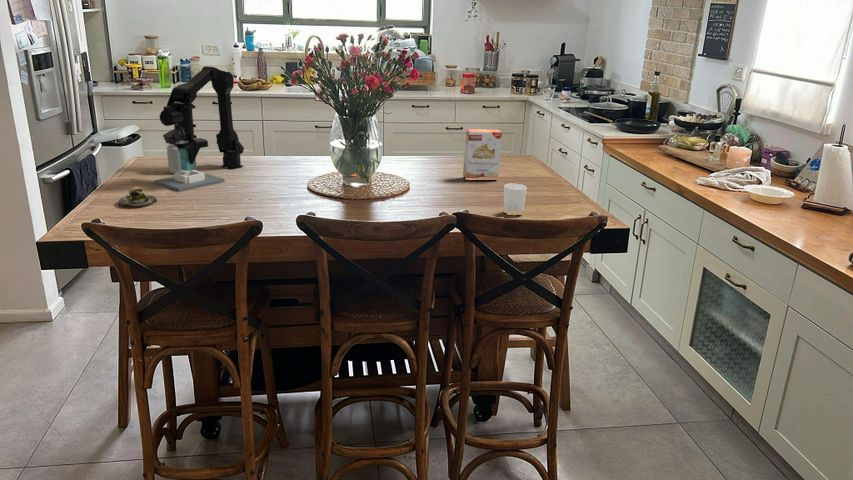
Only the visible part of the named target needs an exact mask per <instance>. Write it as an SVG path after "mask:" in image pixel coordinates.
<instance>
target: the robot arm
mask: <svg viewBox="0 0 853 480" xmlns="http://www.w3.org/2000/svg"><path fill="white" fill-rule="evenodd" d="M234 81H235V80H234V75H233V74H232V73H231V72H230V71H225V70H222V69H219V68H217V67H214V66H203V67H202V68H201V70H200V71H198V72H197V73H196V74H195V75H194V76H193V77H192V78H190V79H189V80H188V81H187V82H185V83H182V84H179V85H176V86H174V87H173V88H172V89H171V92H170V95H169V97H168V101H167V104H166V106H163V110H161V112H160V113H159V120H160V123H161V124H162V125H164V126H166V127H170V126H174V127H173V129H172V130H169V131H168V132H167V131H166V133H164V134H163V135H162V137H163V140H164V141H165V143H166V144H171V145H174V146H175V147H177V148H178V150H179V149H180V148H186V149H187V150H188V154H189V160H190V164H193V163H194V161H195V158H196V159H197V155H198V154H199V152H200V149H203V148H207V147H209V141H208V139H206V138H201V137H197V134H195V129H194V128H197V124H195V123H194V115H193V109H196V105H194V104H193V103H194V101H195V100H196V99H197V97H198V92H199V91H200V90H201V89H203V88H204V87H205V86H206V85H207V84H208V83H209V82H210V83H211V87H212V88H213V90H214V91H215V94H216V95H217V105H218V114H219V115H218V116H219V127H220V130H219V132H218V133H216V135H215V137H216V144H217V147H218V151H219V153H222V154H223V155H222V165H221V168H225V169H228V170H233V169H237V168H243V167H244V165H242V164H241V155H242V154H243V153H244V150H245V147H244V146H243V144H242V143H241V142H240V141H239V136H238V134H237V132H236V130H235V129H234V125H233V124H234V123H233V121H234V120H233V113H232V111H233V110H232V99H231V92H232V90H233V89H234ZM179 152H180V150H179Z"/></svg>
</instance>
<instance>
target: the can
mask: <svg viewBox="0 0 853 480" xmlns="http://www.w3.org/2000/svg"><path fill="white" fill-rule="evenodd" d="M166 153H167V154H166V155H167V166H168V172H169V173H171V174H173V175H174V173H176V172H182V171H185V170H182V169H181V162H180V152H179V150H178V148H177V147H175V146H174V145H171V144H169V143H167V146H166Z"/></svg>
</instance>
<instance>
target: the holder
mask: <svg viewBox="0 0 853 480" xmlns="http://www.w3.org/2000/svg"><path fill="white" fill-rule="evenodd" d="M225 180H226V179H225V178H223V177H221V176H216V175H212V174H209V173H206V172H202V171H198V170H191V171H182V172H176V173H174V174H173V176H170V177H164V178H160V179H159V178H158V179H154V180H153V184H155V185H158V186H161V187H164V188H166V189H170V190H173V191H176V192H179V193H180V192H183V191H184V192H185V191H188V190H193V189H194V190H195V189H199V188H202V187H207V186H212V185H216V184H221V183H222V184H223V183H225V182H226V181H225Z"/></svg>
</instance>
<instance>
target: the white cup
mask: <svg viewBox="0 0 853 480" xmlns="http://www.w3.org/2000/svg"><path fill="white" fill-rule="evenodd" d="M526 196H527V186H526V185H524V184H523V183H522V184H519V183H506V184H504V185H503V209H504V208H505V209H507V210H511V211H520V210H523V211H524V208H525V202H526Z"/></svg>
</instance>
